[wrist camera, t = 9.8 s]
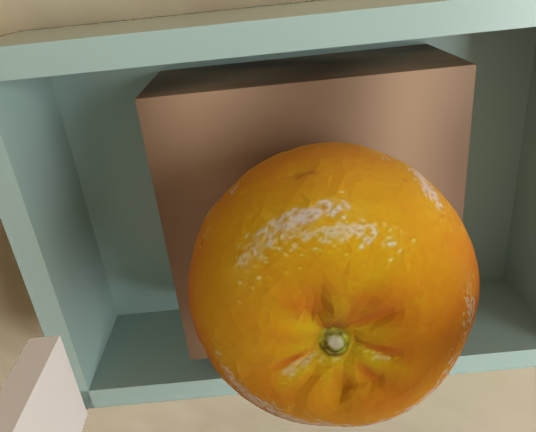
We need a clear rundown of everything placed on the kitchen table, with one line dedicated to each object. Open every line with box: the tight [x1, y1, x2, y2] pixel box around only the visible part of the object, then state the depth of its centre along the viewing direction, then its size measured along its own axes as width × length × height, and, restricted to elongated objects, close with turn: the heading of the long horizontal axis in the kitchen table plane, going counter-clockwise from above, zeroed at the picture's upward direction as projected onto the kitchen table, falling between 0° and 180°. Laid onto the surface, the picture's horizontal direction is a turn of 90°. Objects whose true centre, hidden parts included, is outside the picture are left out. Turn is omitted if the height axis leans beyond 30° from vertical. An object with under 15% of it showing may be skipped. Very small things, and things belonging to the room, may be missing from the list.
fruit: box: [188, 142, 480, 427], centre depth 15 cm, size 8×8×8 cm
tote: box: [0, 0, 536, 409], centre depth 21 cm, size 22×15×6 cm
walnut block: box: [135, 44, 477, 360], centre depth 21 cm, size 11×11×5 cm
